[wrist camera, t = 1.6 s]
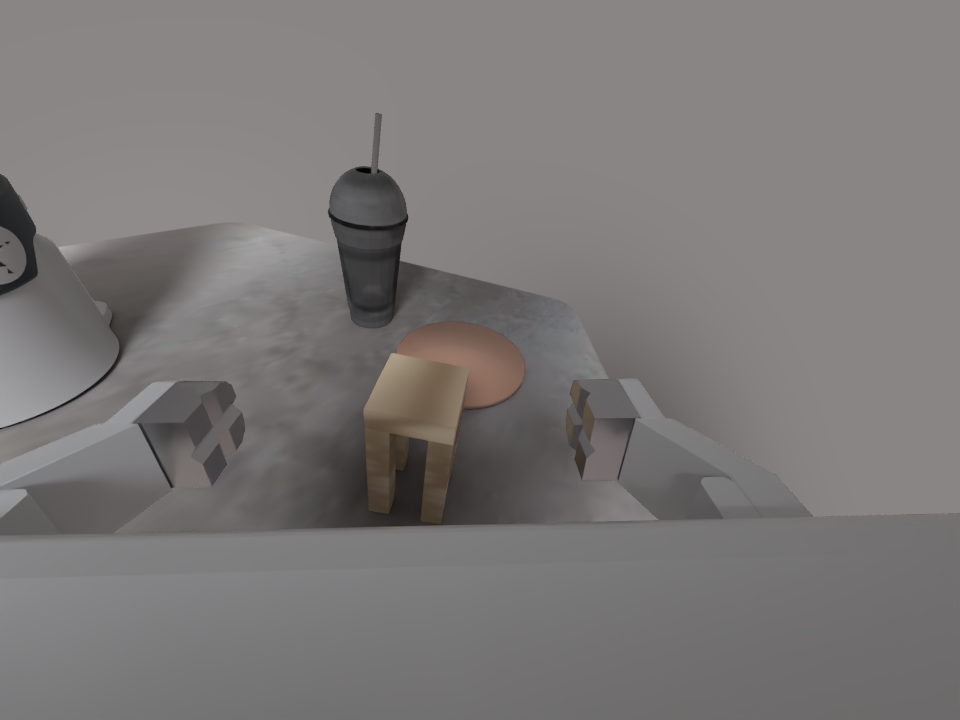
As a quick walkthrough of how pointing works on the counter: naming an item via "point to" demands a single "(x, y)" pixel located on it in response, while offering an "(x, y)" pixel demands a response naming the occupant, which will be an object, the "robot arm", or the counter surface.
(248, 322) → the counter surface
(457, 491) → the counter surface
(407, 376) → the stool
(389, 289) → the beverage cup
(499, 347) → the coaster
